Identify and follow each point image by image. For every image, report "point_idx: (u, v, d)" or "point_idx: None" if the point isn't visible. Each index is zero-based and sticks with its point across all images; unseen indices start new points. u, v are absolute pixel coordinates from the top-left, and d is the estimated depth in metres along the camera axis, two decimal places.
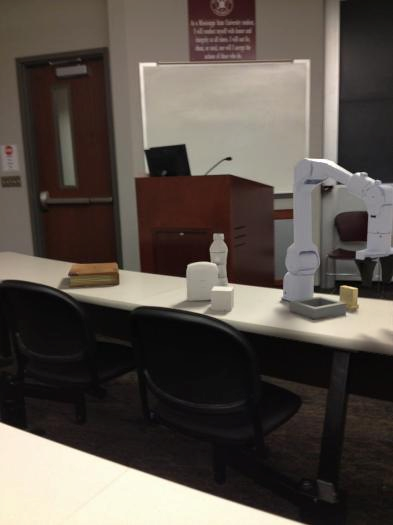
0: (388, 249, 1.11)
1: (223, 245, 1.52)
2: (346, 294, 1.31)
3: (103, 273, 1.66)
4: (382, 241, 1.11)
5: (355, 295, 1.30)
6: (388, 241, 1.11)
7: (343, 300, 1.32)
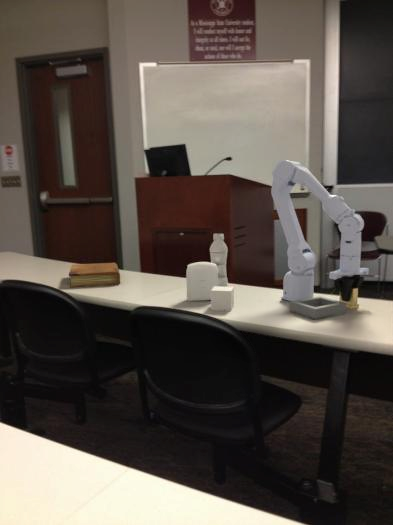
0: (357, 270, 1.28)
1: (223, 245, 1.52)
2: None
3: (104, 273, 1.66)
4: (352, 263, 1.27)
5: (355, 295, 1.30)
6: (357, 263, 1.28)
7: None
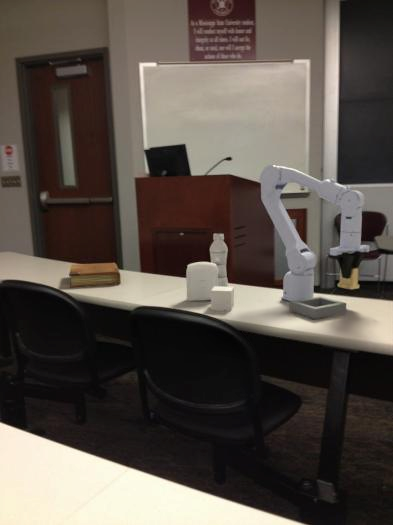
0: (358, 246, 1.27)
1: (223, 245, 1.52)
2: None
3: (104, 273, 1.66)
4: (352, 239, 1.26)
5: (355, 275, 1.29)
6: (358, 239, 1.27)
7: (344, 280, 1.31)
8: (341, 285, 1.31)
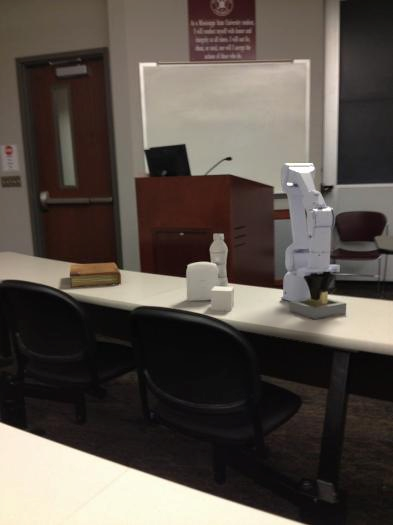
0: (326, 267, 1.22)
1: (223, 245, 1.52)
2: None
3: (105, 273, 1.66)
4: (320, 260, 1.21)
5: (325, 299, 1.23)
6: (326, 259, 1.21)
7: (313, 303, 1.26)
8: None
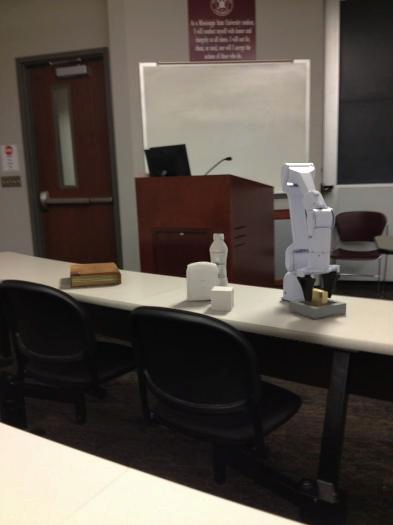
0: (326, 267, 1.22)
1: (223, 245, 1.52)
2: (315, 298, 1.25)
3: (105, 273, 1.66)
4: (320, 260, 1.21)
5: (325, 299, 1.23)
6: (326, 260, 1.21)
7: (313, 303, 1.26)
8: None
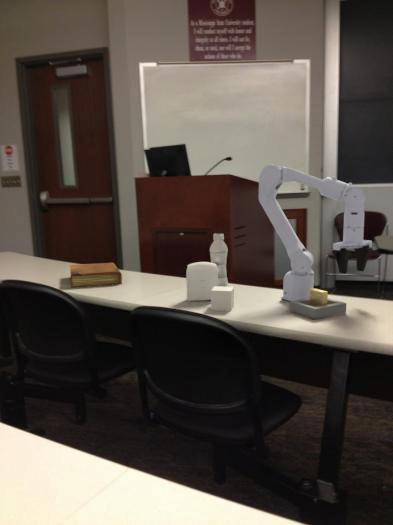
0: (361, 241, 1.30)
1: (223, 245, 1.52)
2: (315, 298, 1.25)
3: (106, 273, 1.67)
4: (355, 235, 1.29)
5: (325, 299, 1.23)
6: (360, 234, 1.30)
7: (313, 303, 1.26)
8: None
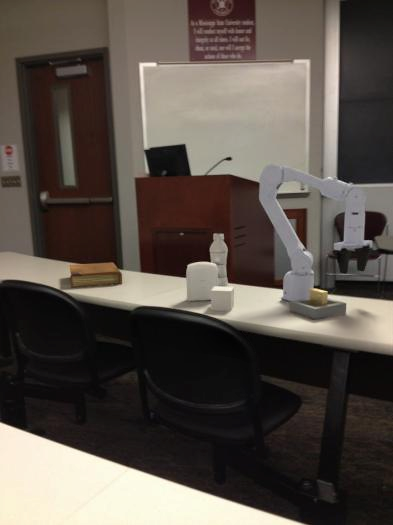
0: (361, 241, 1.30)
1: (223, 245, 1.52)
2: (315, 298, 1.25)
3: (106, 273, 1.67)
4: (356, 235, 1.30)
5: (325, 299, 1.23)
6: (361, 234, 1.30)
7: (313, 303, 1.26)
8: None
